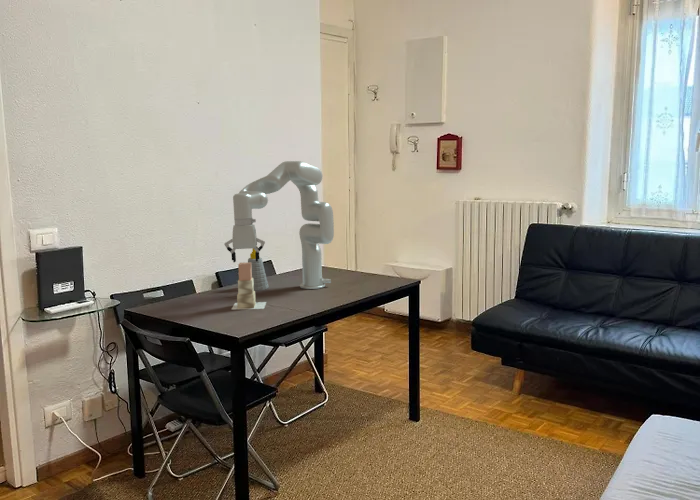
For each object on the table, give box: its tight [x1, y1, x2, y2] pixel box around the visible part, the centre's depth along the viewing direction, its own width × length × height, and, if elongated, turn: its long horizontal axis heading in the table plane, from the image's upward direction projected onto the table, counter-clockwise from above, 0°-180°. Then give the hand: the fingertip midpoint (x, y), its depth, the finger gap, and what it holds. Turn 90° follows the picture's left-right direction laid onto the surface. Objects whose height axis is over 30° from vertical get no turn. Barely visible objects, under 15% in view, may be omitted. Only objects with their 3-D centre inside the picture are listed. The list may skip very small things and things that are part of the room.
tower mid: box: [237, 278, 254, 295], centre depth 279 cm, size 6×6×6 cm
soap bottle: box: [247, 245, 269, 292], centre depth 317 cm, size 12×12×20 cm
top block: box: [237, 261, 252, 281], centre depth 278 cm, size 5×5×7 cm
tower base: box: [236, 291, 257, 308], centre depth 279 cm, size 7×7×6 cm
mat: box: [231, 301, 267, 311], centre depth 281 cm, size 14×12×1 cm
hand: (245, 261), depth 277 cm, fingers open, 9 cm apart
